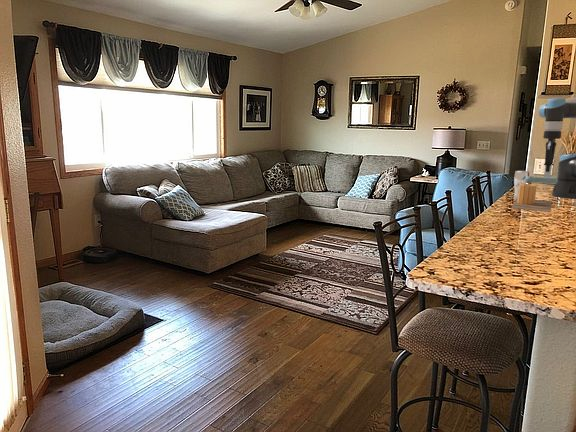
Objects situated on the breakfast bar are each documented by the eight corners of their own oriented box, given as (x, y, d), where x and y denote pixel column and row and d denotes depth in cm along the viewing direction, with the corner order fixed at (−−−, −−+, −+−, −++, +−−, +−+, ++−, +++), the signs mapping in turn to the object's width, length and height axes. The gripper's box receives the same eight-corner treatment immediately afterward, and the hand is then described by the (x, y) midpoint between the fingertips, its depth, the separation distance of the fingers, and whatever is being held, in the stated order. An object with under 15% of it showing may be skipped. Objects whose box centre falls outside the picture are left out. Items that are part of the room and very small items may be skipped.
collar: (517, 201, 229) (519, 183, 227) (534, 202, 225) (536, 184, 223) (516, 203, 223) (518, 185, 221) (533, 205, 219) (536, 186, 217)
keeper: (525, 181, 229) (525, 176, 228) (525, 181, 232) (526, 176, 231) (556, 183, 222) (557, 178, 222) (556, 182, 225) (557, 177, 224)
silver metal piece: (524, 199, 233) (526, 181, 231) (529, 200, 232) (531, 182, 230) (522, 203, 224) (524, 184, 222) (528, 203, 223) (530, 185, 221)
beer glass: (523, 198, 244) (526, 170, 241) (529, 200, 238) (532, 172, 234) (510, 198, 245) (512, 170, 242) (515, 200, 238) (518, 172, 235)
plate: (516, 201, 237) (516, 198, 237) (551, 204, 229) (552, 201, 228) (510, 211, 212) (510, 208, 211) (549, 215, 204) (550, 211, 203)
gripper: (546, 130, 231) (541, 176, 236) (541, 130, 221) (536, 178, 226) (563, 130, 227) (557, 177, 232) (559, 130, 217) (553, 180, 222)
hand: (547, 178), depth 229 cm, fingers closed
